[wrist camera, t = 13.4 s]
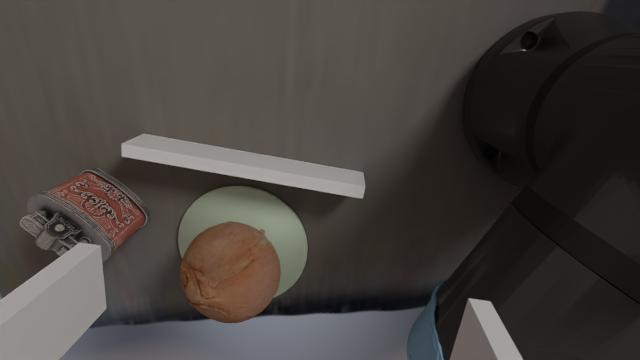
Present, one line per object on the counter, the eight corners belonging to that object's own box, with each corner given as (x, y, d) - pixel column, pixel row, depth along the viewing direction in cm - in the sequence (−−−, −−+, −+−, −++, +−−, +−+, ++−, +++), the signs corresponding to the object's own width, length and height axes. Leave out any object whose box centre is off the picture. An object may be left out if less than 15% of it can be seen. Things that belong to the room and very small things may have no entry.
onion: (217, 236, 43) (139, 275, 35) (262, 192, 38) (184, 224, 30) (264, 305, 42) (196, 362, 34) (317, 268, 37) (252, 324, 29)
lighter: (77, 182, 39) (-6, 225, 30) (93, 160, 38) (13, 198, 29) (139, 231, 41) (79, 287, 32) (157, 211, 40) (100, 262, 31)
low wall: (363, 172, 37) (365, 186, 33) (360, 183, 38) (362, 198, 34) (143, 133, 37) (121, 143, 33) (143, 145, 38) (121, 156, 34)
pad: (317, 198, 38) (317, 200, 38) (297, 308, 43) (297, 311, 43) (182, 174, 38) (180, 176, 38) (177, 287, 43) (176, 290, 43)
